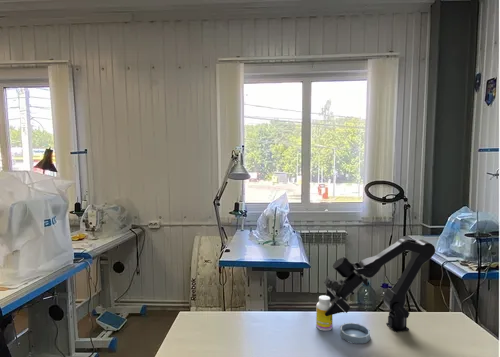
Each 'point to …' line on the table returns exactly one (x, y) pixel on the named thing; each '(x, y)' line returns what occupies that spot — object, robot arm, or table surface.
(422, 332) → the table surface
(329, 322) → the supplement bottle
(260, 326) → the table surface
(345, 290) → the robot arm
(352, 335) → the round tray
